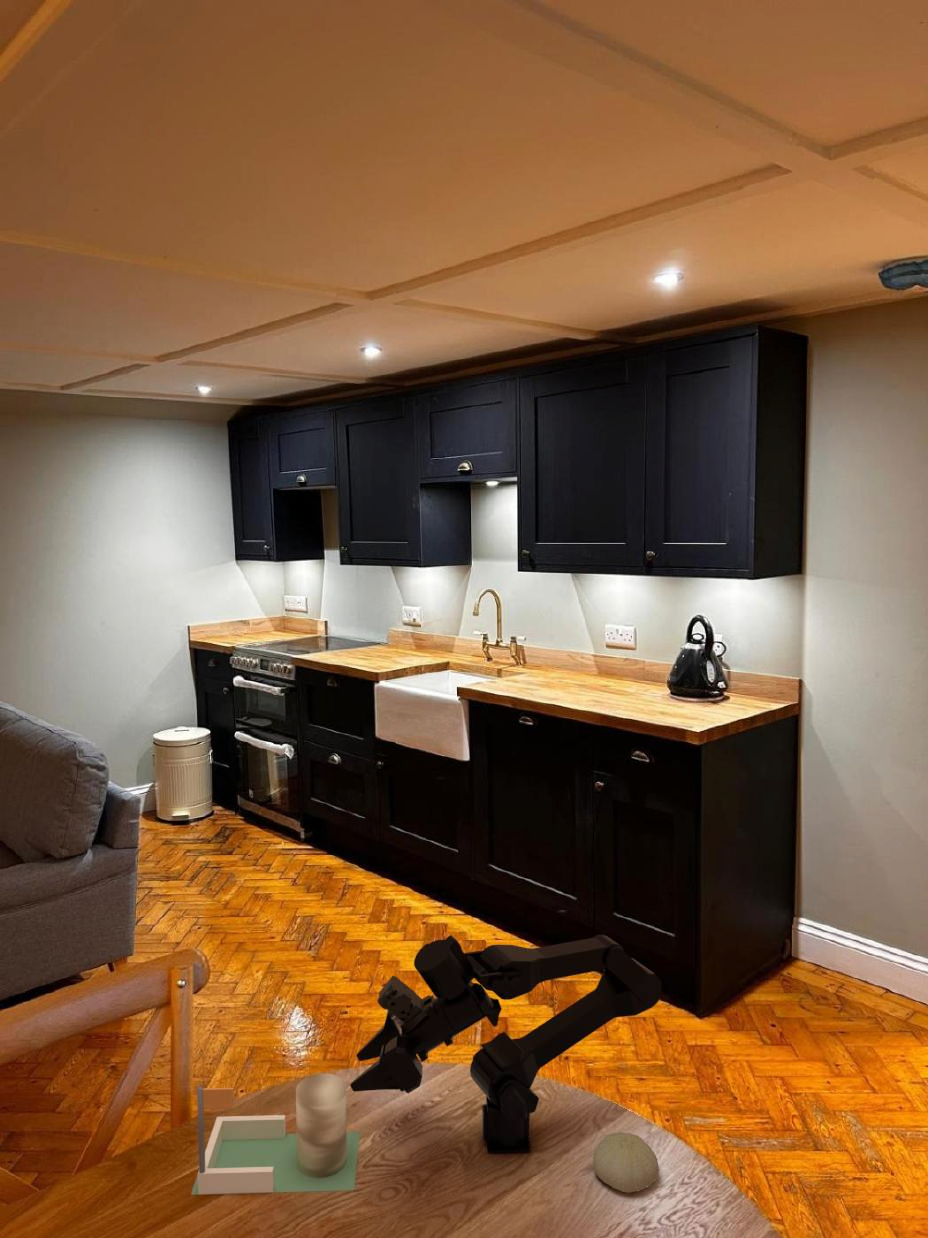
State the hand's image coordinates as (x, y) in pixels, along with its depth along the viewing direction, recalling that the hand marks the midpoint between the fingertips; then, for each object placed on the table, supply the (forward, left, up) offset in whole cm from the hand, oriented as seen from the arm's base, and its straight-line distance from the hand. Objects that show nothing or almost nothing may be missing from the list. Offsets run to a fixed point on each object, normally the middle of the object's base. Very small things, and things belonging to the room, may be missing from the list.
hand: (354, 1072), depth 132 cm
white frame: (+16, +1, -12) cm, 20 cm away
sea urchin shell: (-38, +4, -14) cm, 41 cm away
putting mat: (+11, +1, -13) cm, 17 cm away
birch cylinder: (+5, +1, -12) cm, 13 cm away
